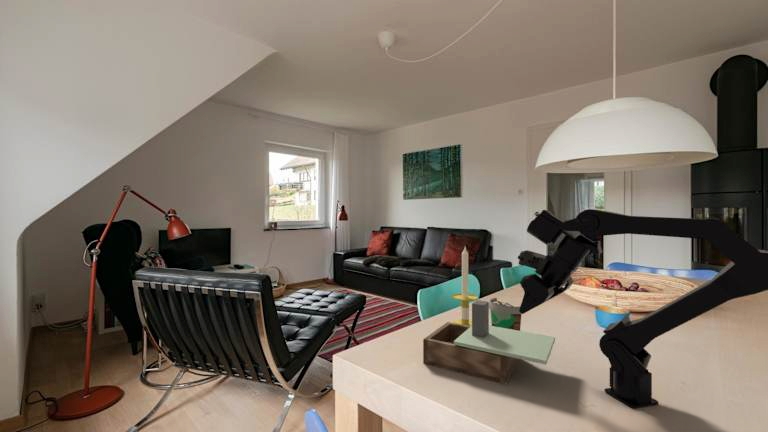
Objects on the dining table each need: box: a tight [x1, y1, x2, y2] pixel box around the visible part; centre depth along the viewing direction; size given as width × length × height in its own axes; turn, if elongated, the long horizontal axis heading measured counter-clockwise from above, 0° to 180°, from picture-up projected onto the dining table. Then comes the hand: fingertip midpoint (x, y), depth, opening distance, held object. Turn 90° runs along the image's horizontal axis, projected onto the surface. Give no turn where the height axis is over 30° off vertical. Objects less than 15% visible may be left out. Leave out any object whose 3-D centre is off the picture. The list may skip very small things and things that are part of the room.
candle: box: [450, 246, 479, 326], centre depth 112 cm, size 10×10×27 cm
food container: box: [488, 297, 523, 331], centre depth 104 cm, size 12×6×10 cm, turn 21°
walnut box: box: [422, 321, 521, 385], centre depth 86 cm, size 20×16×6 cm
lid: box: [454, 299, 556, 365], centre depth 81 cm, size 20×16×9 cm
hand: (528, 308), depth 82 cm, fingers open, 9 cm apart
